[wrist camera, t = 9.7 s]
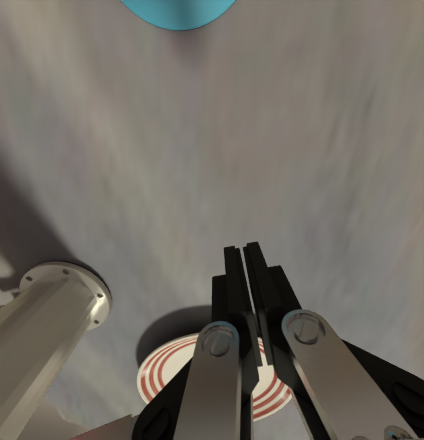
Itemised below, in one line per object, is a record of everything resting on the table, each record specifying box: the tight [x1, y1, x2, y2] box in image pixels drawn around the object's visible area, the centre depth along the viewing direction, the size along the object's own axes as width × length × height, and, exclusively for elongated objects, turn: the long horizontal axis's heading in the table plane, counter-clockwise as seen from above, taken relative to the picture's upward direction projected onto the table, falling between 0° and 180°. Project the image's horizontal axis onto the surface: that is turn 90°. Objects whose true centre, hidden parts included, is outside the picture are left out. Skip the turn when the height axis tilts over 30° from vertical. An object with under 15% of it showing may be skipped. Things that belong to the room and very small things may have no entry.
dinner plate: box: [137, 332, 292, 422], centre depth 36 cm, size 27×27×3 cm
